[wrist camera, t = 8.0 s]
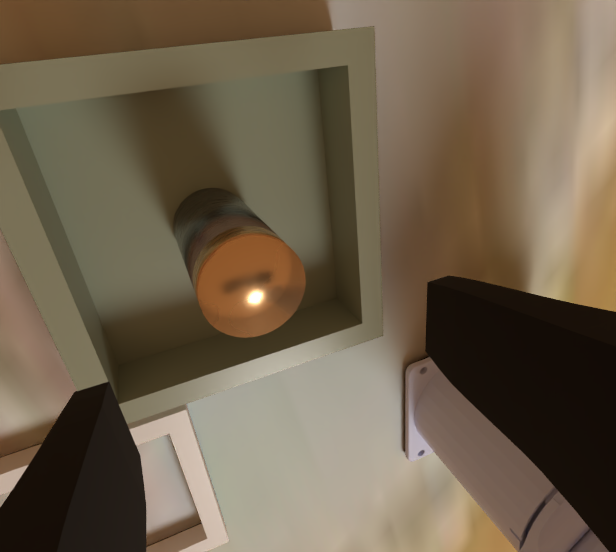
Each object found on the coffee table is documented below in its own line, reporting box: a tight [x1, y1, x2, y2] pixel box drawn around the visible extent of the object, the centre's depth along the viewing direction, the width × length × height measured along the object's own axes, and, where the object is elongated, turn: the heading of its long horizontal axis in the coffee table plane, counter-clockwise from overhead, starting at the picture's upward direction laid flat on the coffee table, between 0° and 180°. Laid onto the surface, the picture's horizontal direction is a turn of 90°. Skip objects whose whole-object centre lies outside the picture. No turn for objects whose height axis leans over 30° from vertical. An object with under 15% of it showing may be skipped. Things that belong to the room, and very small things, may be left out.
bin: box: [0, 26, 383, 424], centre depth 16 cm, size 12×12×3 cm
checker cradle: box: [0, 404, 229, 552], centre depth 20 cm, size 10×10×1 cm
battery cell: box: [173, 188, 306, 338], centre depth 14 cm, size 3×3×6 cm
